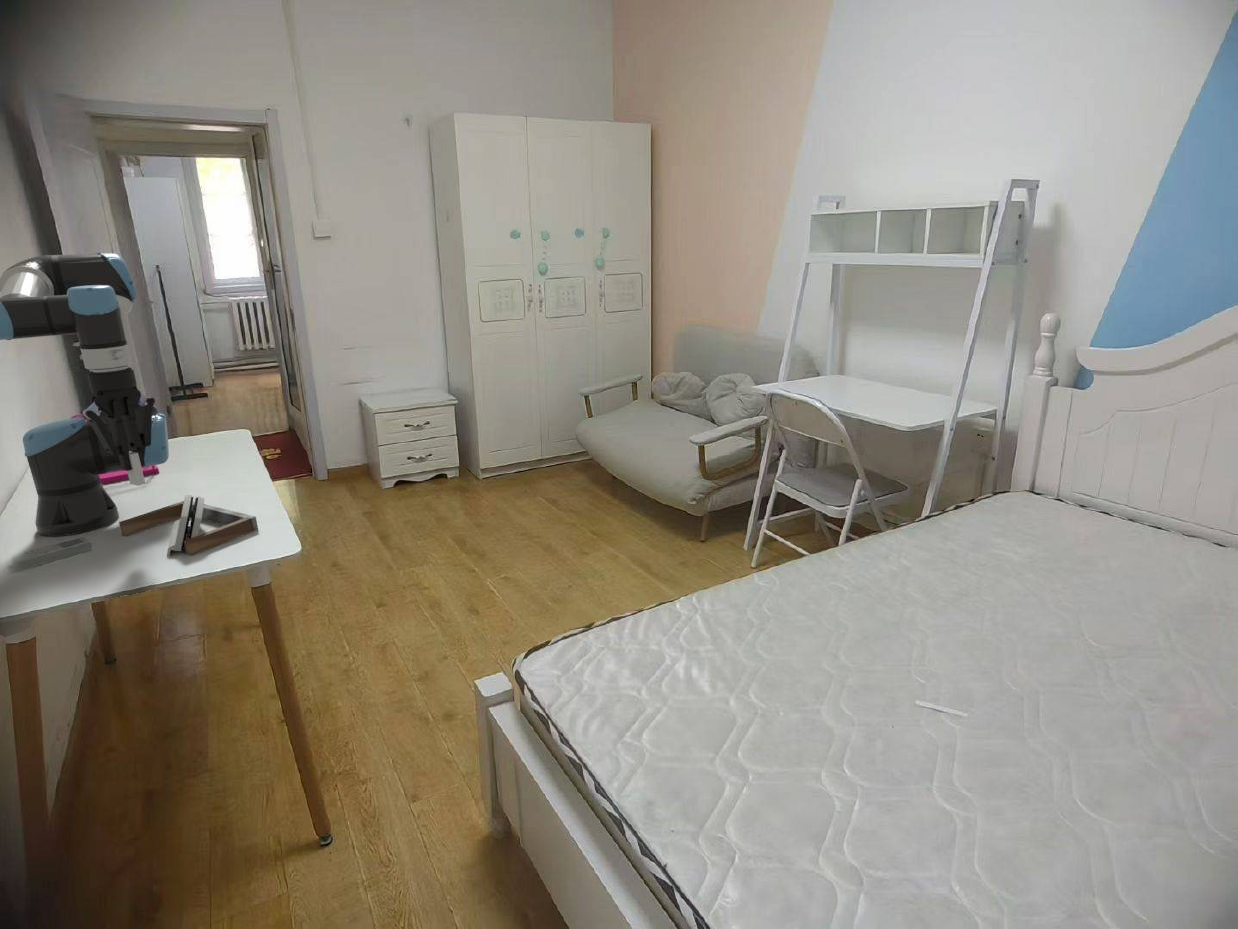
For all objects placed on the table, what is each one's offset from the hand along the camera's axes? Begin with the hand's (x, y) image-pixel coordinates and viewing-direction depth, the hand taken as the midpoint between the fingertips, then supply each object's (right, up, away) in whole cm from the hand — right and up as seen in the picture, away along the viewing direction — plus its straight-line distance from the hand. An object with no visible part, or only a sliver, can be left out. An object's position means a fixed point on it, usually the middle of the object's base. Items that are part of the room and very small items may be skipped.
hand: (137, 483), depth 149 cm
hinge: (+7, -12, +7) cm, 16 cm away
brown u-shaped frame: (+5, -11, +10) cm, 16 cm away
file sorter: (-43, +2, +57) cm, 71 cm away
